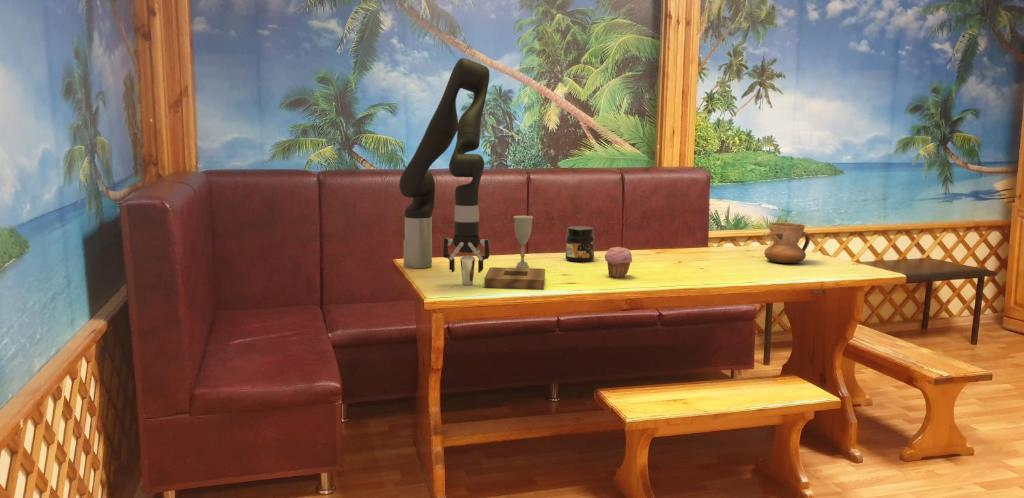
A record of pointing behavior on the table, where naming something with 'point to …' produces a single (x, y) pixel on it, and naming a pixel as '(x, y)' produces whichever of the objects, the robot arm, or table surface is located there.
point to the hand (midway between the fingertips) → (466, 271)
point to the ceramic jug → (786, 242)
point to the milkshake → (467, 269)
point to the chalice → (523, 235)
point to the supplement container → (580, 244)
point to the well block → (515, 278)
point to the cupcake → (618, 261)
